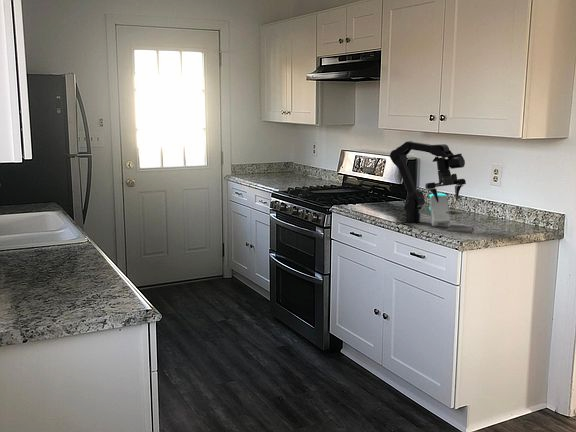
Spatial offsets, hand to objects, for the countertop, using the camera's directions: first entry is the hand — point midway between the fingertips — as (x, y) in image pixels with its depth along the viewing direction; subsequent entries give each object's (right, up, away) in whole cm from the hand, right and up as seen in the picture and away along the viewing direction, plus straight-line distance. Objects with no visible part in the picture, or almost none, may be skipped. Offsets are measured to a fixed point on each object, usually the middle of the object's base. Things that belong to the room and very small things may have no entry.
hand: (447, 201), depth 296 cm
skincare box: (-3, -11, 0) cm, 12 cm away
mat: (+5, -14, -4) cm, 15 cm away
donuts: (+7, -5, +47) cm, 48 cm away
